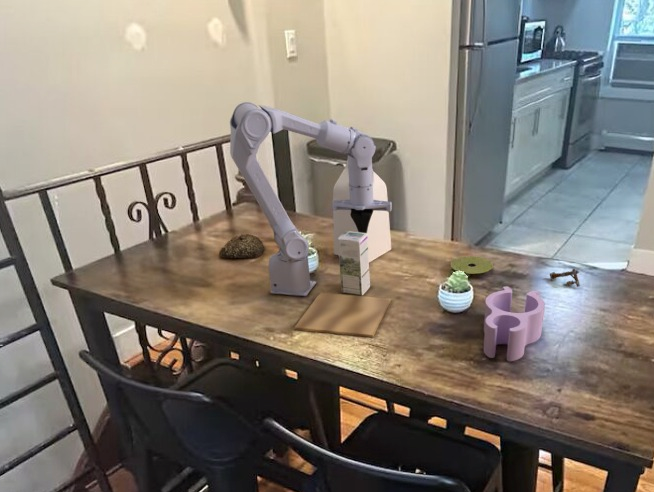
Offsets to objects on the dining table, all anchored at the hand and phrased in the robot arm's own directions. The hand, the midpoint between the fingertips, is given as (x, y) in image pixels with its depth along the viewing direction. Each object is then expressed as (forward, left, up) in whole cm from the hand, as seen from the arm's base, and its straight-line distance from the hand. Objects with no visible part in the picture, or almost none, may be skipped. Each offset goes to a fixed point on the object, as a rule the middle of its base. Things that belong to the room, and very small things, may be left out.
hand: (363, 238), depth 152 cm
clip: (+39, -25, -11) cm, 48 cm away
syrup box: (0, -9, -11) cm, 14 cm away
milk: (-5, +16, -11) cm, 20 cm away
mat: (+27, +8, -11) cm, 30 cm away
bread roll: (-39, +10, -11) cm, 42 cm away
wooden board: (+1, -22, -10) cm, 24 cm away
